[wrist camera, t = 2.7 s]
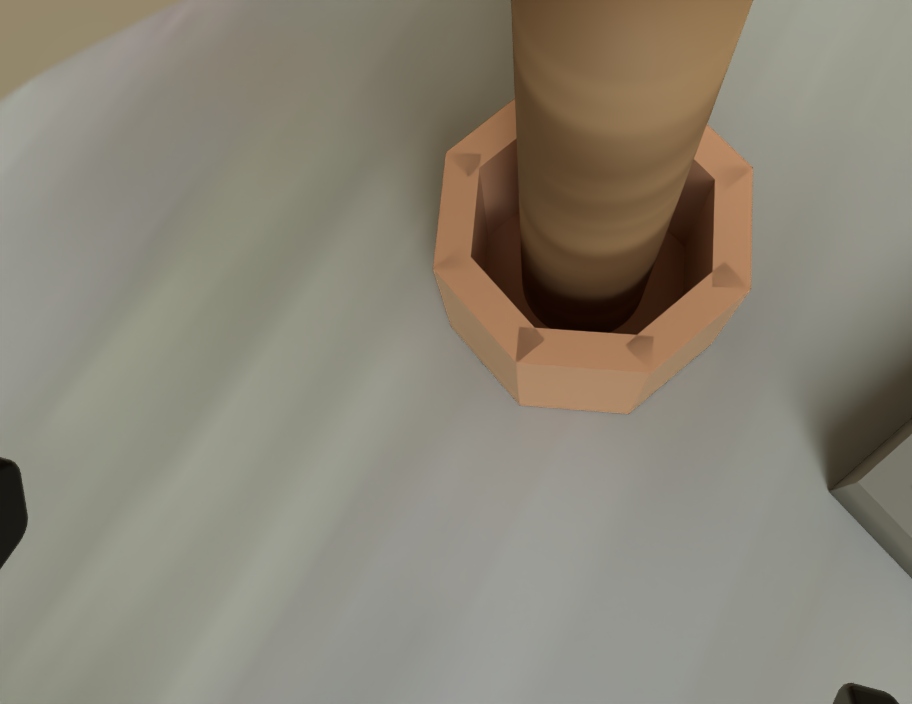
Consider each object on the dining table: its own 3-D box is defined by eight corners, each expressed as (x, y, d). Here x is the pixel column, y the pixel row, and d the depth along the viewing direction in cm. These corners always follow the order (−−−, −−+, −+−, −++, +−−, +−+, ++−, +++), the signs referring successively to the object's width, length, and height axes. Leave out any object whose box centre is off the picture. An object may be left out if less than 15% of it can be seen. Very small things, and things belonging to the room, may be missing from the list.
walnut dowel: (670, 284, 23) (810, -24, 11) (577, 362, 22) (623, 126, 11) (588, 200, 24) (639, -169, 12) (497, 273, 23) (461, -33, 12)
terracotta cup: (766, 297, 23) (819, 230, 19) (570, 463, 22) (579, 434, 18) (592, 125, 25) (604, 26, 20) (405, 274, 24) (377, 205, 20)
